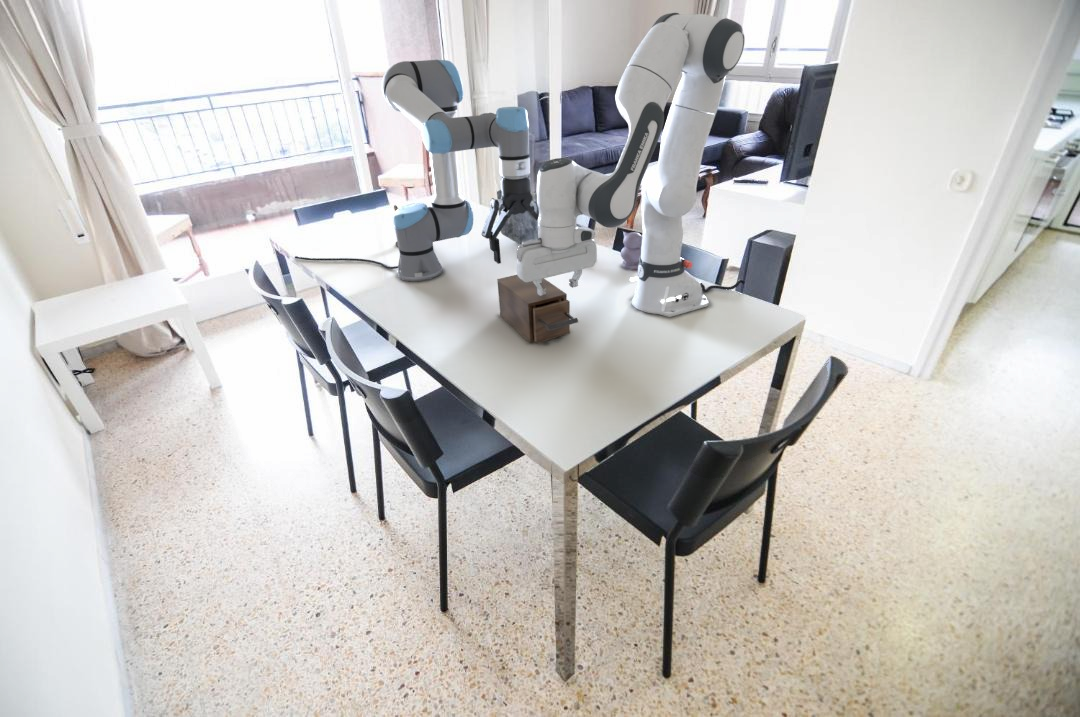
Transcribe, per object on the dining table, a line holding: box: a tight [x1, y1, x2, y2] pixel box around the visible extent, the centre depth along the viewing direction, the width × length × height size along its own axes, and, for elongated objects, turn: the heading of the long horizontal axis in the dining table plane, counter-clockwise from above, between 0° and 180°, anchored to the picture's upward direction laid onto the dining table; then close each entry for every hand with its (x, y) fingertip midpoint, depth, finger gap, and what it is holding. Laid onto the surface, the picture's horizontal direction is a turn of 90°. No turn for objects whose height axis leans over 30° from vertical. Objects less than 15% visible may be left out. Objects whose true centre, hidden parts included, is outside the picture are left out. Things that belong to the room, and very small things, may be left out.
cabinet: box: [497, 274, 568, 344], centre depth 138 cm, size 19×11×12 cm, turn 28°
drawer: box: [531, 299, 579, 344], centre depth 133 cm, size 23×10×10 cm, turn 28°
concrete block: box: [496, 188, 539, 245], centre depth 194 cm, size 27×9×20 cm, turn 36°
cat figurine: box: [620, 231, 642, 271], centre depth 172 cm, size 9×8×12 cm
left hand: (520, 257), depth 136 cm, fingers open, 13 cm apart
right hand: (557, 290), depth 121 cm, fingers open, 8 cm apart
